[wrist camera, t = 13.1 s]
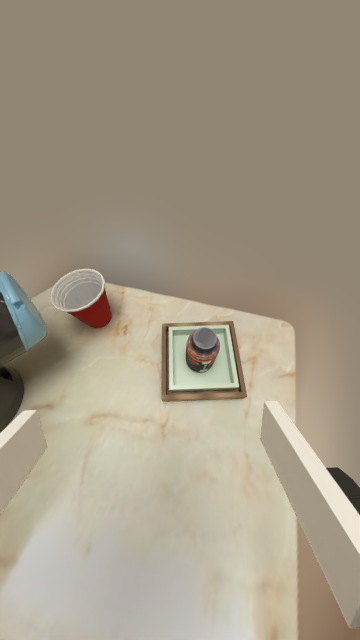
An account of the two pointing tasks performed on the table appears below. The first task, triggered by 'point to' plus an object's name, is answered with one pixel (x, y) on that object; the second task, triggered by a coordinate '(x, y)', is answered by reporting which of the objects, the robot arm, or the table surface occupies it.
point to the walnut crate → (203, 395)
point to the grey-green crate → (214, 379)
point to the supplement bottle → (202, 349)
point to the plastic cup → (82, 297)
